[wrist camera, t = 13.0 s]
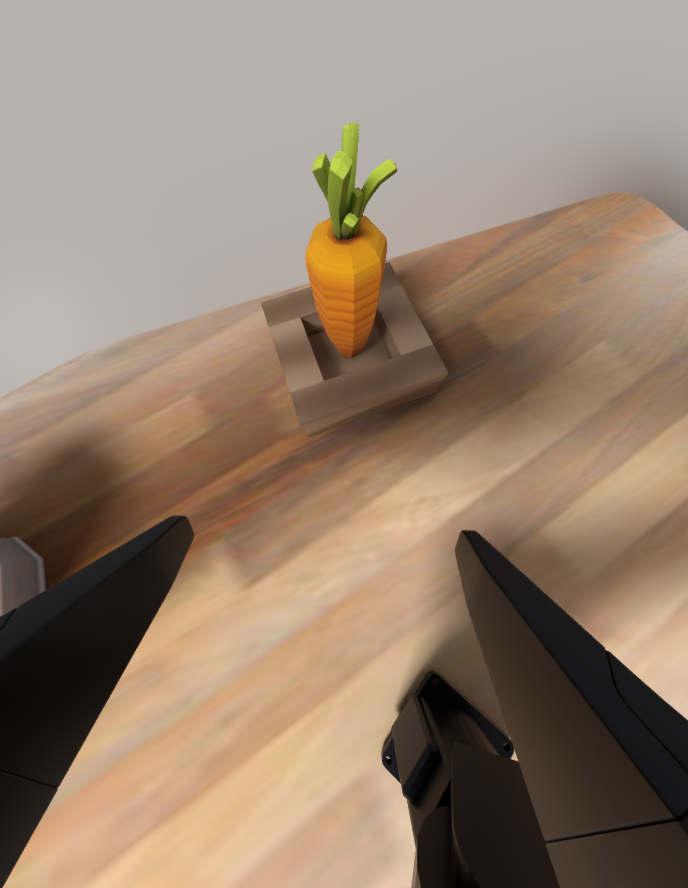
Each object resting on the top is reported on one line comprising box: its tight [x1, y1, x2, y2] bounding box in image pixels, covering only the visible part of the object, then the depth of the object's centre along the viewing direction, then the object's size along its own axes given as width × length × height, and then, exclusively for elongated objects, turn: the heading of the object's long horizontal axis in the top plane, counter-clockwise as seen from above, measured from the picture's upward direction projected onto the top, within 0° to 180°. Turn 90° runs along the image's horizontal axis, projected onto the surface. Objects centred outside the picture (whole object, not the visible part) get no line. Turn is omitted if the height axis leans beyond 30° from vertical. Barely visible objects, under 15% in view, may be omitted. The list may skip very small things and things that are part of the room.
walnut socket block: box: [261, 262, 448, 437], centre depth 24 cm, size 13×13×4 cm
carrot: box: [306, 123, 397, 359], centre depth 17 cm, size 5×5×15 cm
